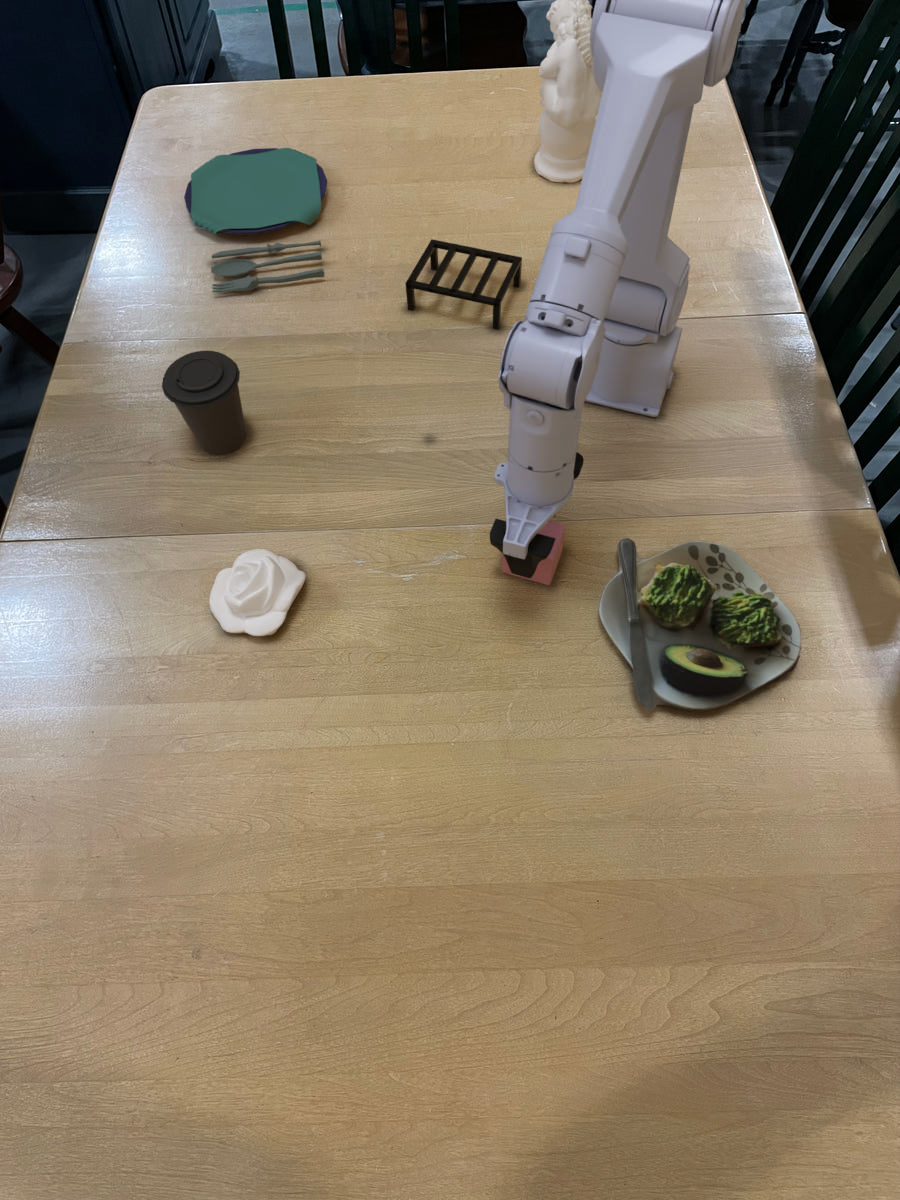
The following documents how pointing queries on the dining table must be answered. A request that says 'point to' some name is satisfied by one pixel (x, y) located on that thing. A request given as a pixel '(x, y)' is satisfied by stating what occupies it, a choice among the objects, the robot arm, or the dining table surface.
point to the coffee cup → (208, 399)
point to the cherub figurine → (567, 94)
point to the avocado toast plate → (697, 626)
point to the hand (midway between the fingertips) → (533, 541)
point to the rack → (464, 276)
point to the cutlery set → (257, 206)
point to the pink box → (549, 564)
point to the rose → (255, 593)
